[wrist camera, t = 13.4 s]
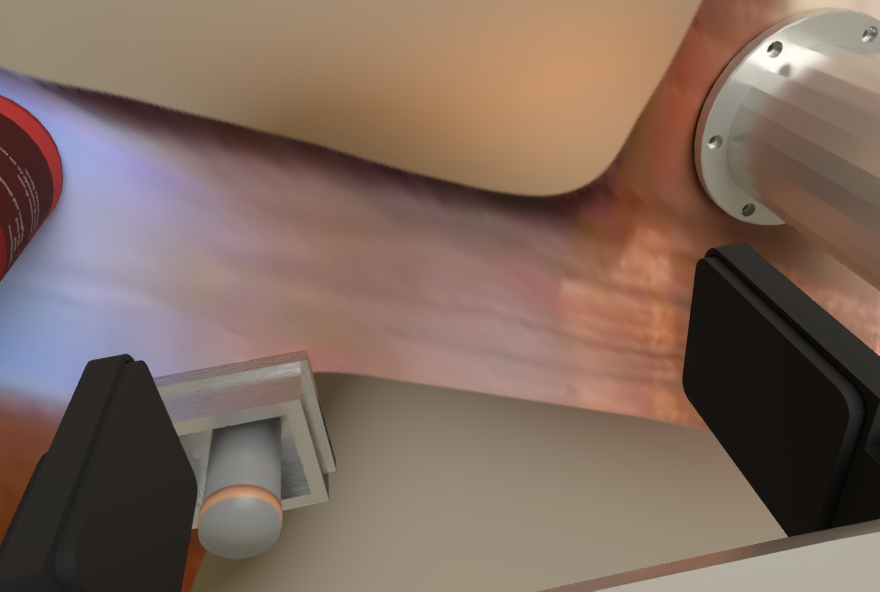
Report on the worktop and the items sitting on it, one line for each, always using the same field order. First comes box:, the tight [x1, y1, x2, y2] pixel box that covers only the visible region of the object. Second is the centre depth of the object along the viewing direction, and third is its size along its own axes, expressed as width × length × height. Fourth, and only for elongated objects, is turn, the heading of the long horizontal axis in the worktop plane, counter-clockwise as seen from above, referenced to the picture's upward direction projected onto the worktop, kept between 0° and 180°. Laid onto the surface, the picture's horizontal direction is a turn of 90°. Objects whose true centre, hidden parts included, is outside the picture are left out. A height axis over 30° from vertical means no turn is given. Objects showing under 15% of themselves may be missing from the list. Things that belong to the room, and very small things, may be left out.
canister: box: [197, 417, 282, 559], centre depth 41 cm, size 5×5×8 cm
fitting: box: [153, 351, 336, 529], centre depth 43 cm, size 16×10×4 cm, turn 96°
